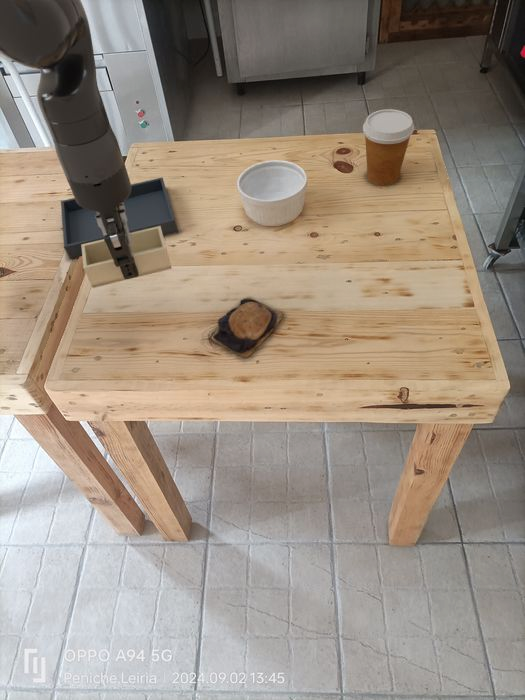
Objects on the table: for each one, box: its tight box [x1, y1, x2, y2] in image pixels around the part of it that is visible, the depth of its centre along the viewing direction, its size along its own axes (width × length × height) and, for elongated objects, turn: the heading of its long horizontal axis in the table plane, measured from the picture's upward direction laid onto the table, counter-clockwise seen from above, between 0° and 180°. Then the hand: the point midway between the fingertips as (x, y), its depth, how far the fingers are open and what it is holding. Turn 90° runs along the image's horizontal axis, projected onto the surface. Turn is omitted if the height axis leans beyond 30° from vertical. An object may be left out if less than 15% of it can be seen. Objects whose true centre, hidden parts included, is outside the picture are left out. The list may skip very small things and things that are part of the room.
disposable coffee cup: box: [362, 108, 415, 186], centre depth 104 cm, size 10×10×12 cm
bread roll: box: [210, 297, 283, 359], centre depth 85 cm, size 11×8×4 cm
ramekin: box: [236, 159, 308, 227], centre depth 103 cm, size 13×13×7 cm
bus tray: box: [60, 176, 179, 260], centre depth 106 cm, size 21×15×3 cm
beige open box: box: [81, 226, 173, 289], centre depth 79 cm, size 12×6×4 cm, turn 106°
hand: (129, 263), depth 80 cm, fingers closed on beige open box, 5 cm apart
